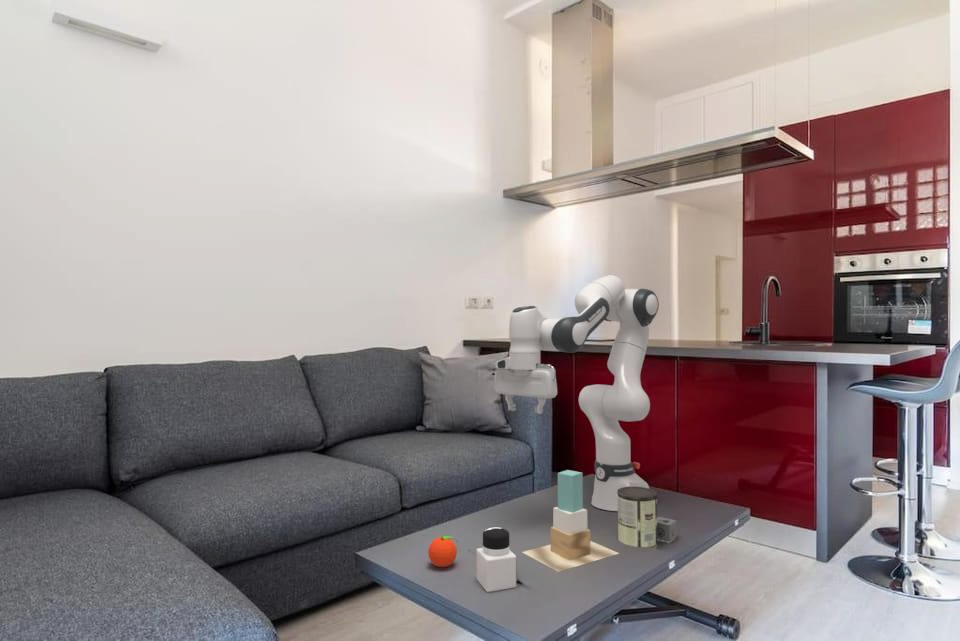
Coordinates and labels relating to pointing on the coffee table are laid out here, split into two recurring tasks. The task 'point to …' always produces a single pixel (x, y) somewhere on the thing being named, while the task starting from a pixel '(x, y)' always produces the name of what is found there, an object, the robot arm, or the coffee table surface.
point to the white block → (570, 520)
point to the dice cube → (666, 529)
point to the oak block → (570, 544)
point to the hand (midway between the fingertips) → (525, 412)
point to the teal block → (570, 491)
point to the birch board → (561, 563)
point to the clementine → (442, 551)
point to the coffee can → (637, 516)
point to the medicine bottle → (496, 561)
